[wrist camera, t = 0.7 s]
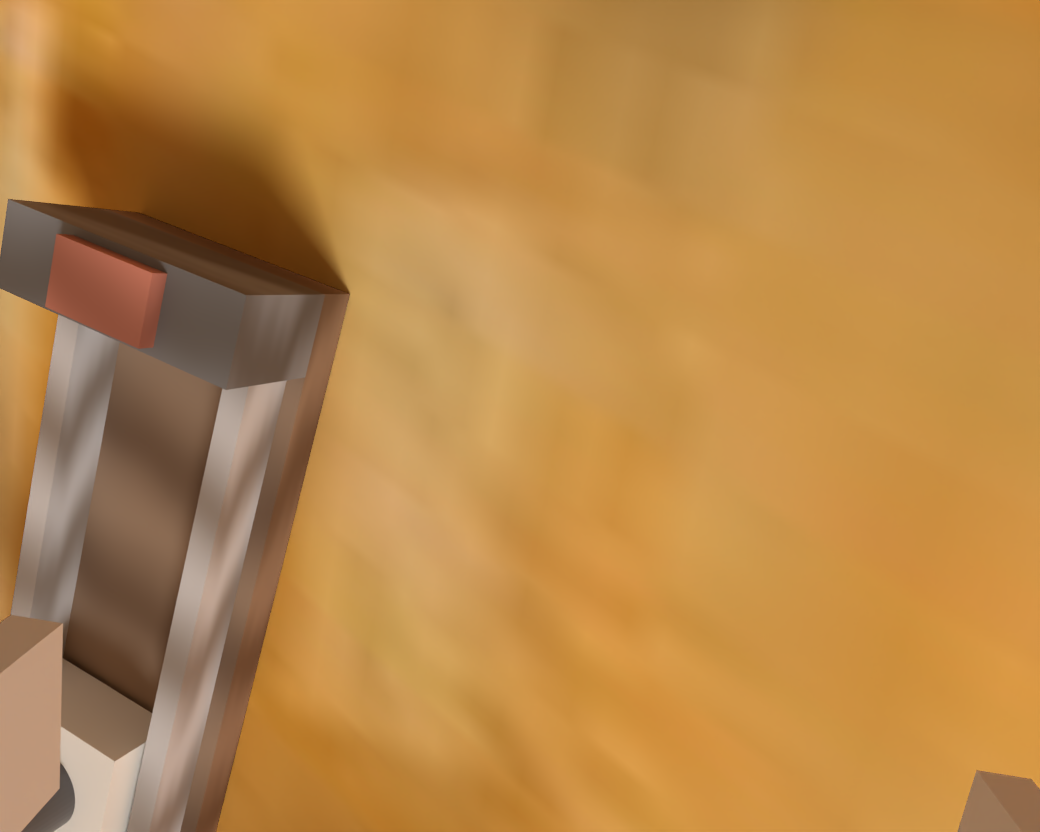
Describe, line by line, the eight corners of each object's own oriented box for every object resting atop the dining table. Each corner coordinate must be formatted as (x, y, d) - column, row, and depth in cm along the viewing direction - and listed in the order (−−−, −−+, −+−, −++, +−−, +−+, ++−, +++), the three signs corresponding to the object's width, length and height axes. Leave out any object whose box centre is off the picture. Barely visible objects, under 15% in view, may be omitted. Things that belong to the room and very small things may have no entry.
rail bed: (138, 212, 33) (-9, 197, 28) (349, 294, 30) (232, 295, 25) (34, 794, 40) (-100, 876, 35) (196, 908, 37) (78, 1017, 32)
